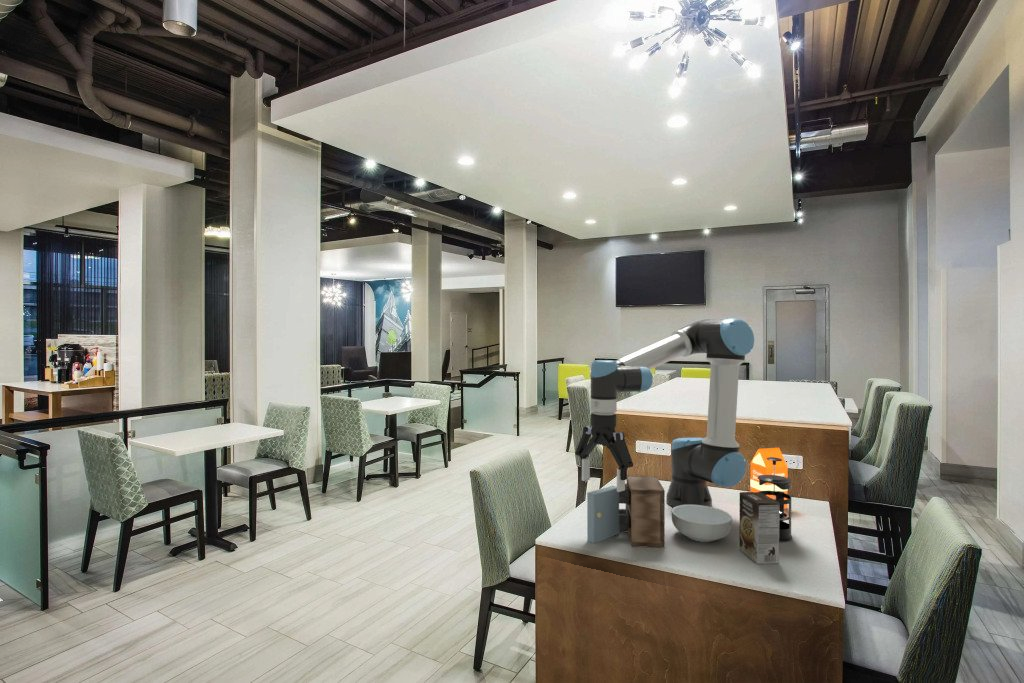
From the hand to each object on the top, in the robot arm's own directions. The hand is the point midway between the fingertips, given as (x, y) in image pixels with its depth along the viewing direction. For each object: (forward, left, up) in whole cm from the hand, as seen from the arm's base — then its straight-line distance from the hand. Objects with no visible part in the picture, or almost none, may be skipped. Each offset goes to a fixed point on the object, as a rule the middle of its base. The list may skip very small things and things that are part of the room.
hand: (602, 485), depth 150 cm
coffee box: (-41, +8, -16) cm, 44 cm away
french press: (-51, -8, -16) cm, 54 cm away
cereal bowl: (-29, -4, -16) cm, 33 cm away
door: (0, 0, -15) cm, 15 cm away
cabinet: (-11, -3, -15) cm, 19 cm away
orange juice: (-59, -35, -16) cm, 70 cm away
